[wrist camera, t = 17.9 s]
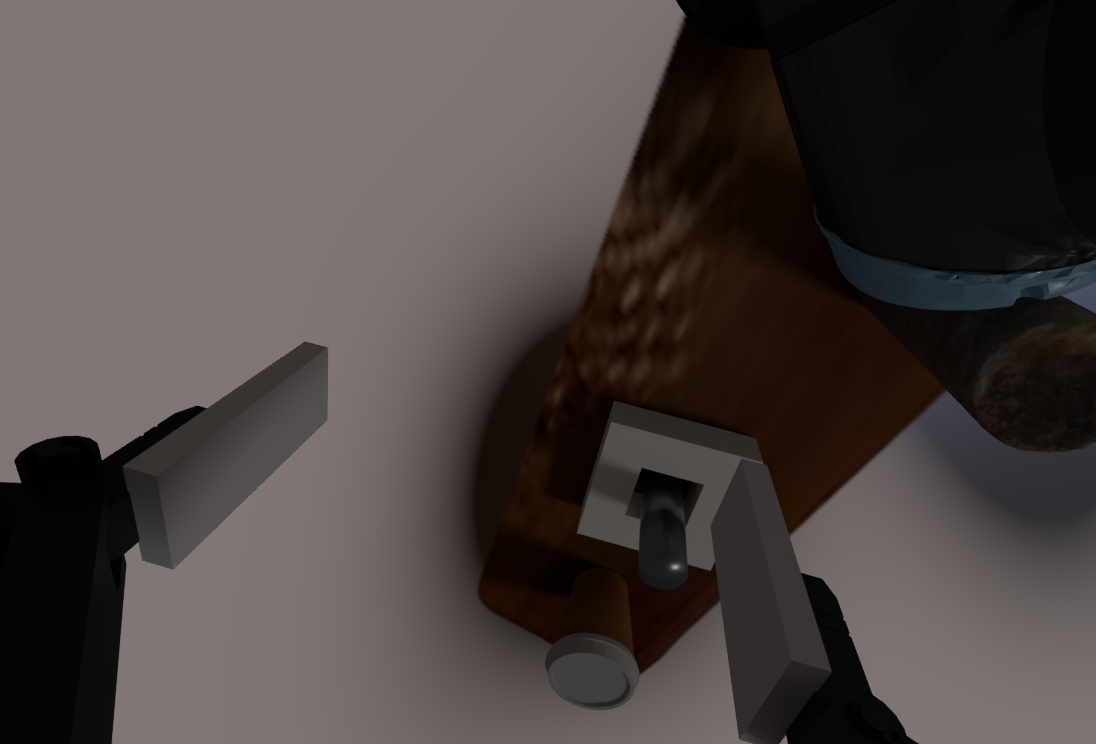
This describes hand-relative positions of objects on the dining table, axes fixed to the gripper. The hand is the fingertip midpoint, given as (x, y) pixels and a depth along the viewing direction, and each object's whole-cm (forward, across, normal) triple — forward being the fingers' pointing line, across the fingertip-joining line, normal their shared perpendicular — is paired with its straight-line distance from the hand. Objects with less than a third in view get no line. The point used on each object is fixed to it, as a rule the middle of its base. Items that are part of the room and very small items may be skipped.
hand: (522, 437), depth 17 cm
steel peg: (+33, +12, -23) cm, 42 cm away
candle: (+33, +24, +2) cm, 41 cm away
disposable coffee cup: (+33, +10, -41) cm, 53 cm away
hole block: (+33, +12, -23) cm, 42 cm away
